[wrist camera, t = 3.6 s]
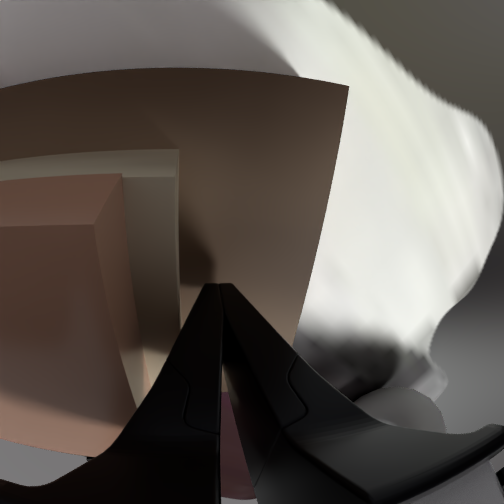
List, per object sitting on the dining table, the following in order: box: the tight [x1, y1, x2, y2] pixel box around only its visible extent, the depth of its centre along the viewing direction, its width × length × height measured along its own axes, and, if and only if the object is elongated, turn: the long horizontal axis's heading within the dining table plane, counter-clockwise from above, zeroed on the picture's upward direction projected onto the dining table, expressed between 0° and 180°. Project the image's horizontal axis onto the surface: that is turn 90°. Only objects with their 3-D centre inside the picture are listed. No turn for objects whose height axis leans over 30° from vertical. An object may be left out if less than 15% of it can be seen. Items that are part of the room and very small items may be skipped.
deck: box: [0, 68, 349, 392], centre depth 11 cm, size 12×14×4 cm
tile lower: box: [0, 149, 182, 387], centre depth 8 cm, size 8×8×2 cm
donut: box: [353, 386, 447, 433], centre depth 20 cm, size 10×4×10 cm, turn 128°
